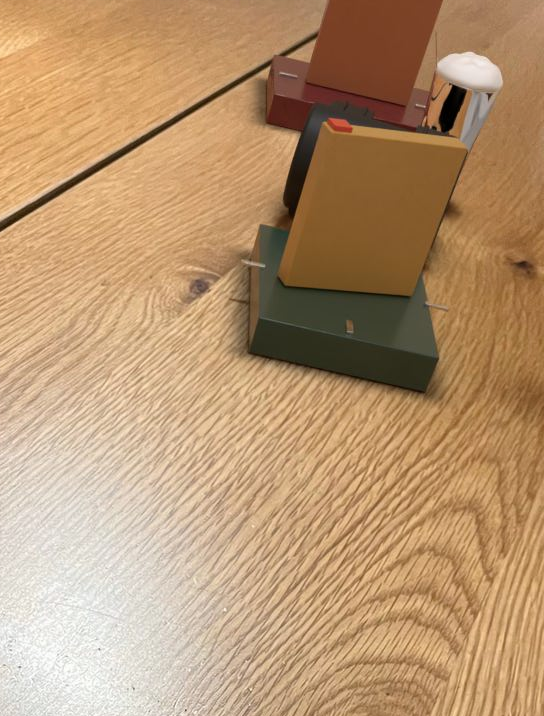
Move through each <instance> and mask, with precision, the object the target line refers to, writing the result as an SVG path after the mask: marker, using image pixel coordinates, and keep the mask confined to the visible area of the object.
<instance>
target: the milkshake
mask: <svg viewBox="0 0 544 716" xmlns="http://www.w3.org/2000/svg"><path fill="white" fill-rule="evenodd" d="M503 86H504V80H503V75H502V73H501V70H500V68H499V66H497V64H495V63H493V62H492V61H491V60H490V59H489V58H488V57H486V56H484V55H478V54H476V53H475V52H473V51H465V52H462V53H451V54H448V55H446V56H445V57H443V58H441V59H440V60H438V32H437V30H435V69H434V72H433V76H432V80H431V85H430V88H429V91H430V92H429V96H428V99H427V103H426V107H425V111H424V115H423V119H422V122H421V126H423V127H425V126H426V125H429V127H430V129H433V130H436V131H440V132H443V133H445V132H446V131H448V132H449V135H453V136H456V137H457V138H458V139H459V140H460V141H461V142H462V143H463V144H464V145H465V146H466V147H467V148H468V154H467V157H466V160H465V162H464V165H463V168H462V171H461V173H460V175H461V174H462V172H463V170H464V167H465V165H466V163H467V161H468V159H469V157H470V154H471V152H472V150H473V148H474V145H475V143H476V141H477V139H478V137H479V135H480V133H481V131H482V129H483V127H484V125H485V123H486V122H487V119H488V117H489V115H490V113H491V111H492V109H493V107H494V105H495V102H496V100H497V98H498V97H499V94H500V92H501V90H502V88H503Z"/></svg>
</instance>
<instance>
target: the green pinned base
mask: <svg viewBox="0 0 544 716" xmlns="http://www.w3.org/2000/svg"><path fill="white" fill-rule="evenodd" d="M289 234H290V230H289V229H285V228H280V227H276V226H271V225H267V224H263V223H260V224H259V225H258V229H257V233H256V236H255V240H254V244H253V247H252V250H251V254H250V260H248V259H243V258H241V259H240V265H242V266H247V267H250V278H249V279H250V281H249V320H248V321H249V322H248V323H249V327H248V328H249V330H248V332H249V333H248V337H249V338H248V353H249V354H254V355H259V356H263V357H267V358H272V359H276V360H280V361H286V362H289V363H295V364H298V365H303V366H308V367H312V368H317V369H320V370H325V371H330V372H335V373H339V374H344V375H347V376H352V377H356V378H359V379H365V380H370V381H374V382H379V383H383V384H387V385H392V386H397V387H400V388H405V389H409V390H415V391H417V392H422V393H426V391H427V390H428V388H429V385H430V382H431V380H432V377H433V375H434V373H435V371H436V368H437V366H438V363H439V361H440V354H439V350H438V343H437V339H436V335H435V330H434V326H433V321H432V316H431V309H436V310H439V311H444V312H449V311H450V307H449V306H448V305H444V304H440V303H435V302H431V301H428V295H427V291H426V285H425V281H424V275H423V270H422V271H421V273H420V276H419V279H418V281H417V284H416V287H415V289H414V292H413V294H412V296H402V295H390V294H378V293H366V292H354V291H341V290H329V289H317V288H305V287H293V286H285V285H284V284H283V282H282V281H281V279H280V278H279V276H278V271H279V267H280V264H281V260H282V257H283V254H284V250H285V247H286V244H287V240H288V237H289ZM430 308H431V309H430Z"/></svg>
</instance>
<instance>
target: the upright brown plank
mask: <svg viewBox="0 0 544 716" xmlns="http://www.w3.org/2000/svg"><path fill="white" fill-rule="evenodd" d="M443 2H444V0H327V1H326V4H325V8H324V11H323V14H322V19H321V22H320V25H319V28H318V33H317V36H316V40H315V43H314V46H313V51H312V53H311V57H310V61H309V63H310V64H309V68H308V71H307V75H306V82H307V83H310V84H315V85H319V86H323V87H327V88H331V89H336V90H340V91H344V92H348V93H353V94H357V95H361V96H365V97H369V98H374V99H378V100H382V101H386V102H390V103H395V104H399V105H403V106H407V105H408V102H409V99H410V96H411V93H412V90H413V87H414V88H415V85H416V82H417V78H418V75H419V73H420V70H421V68H422V63H423V62H424V58H425V55H426V52H427V50H428V46H429V43H430V40H431V37H432V34H433V31H434V29H435V25H436V22H437V20H438V17H439V14H440V11H441V8H442V5H443Z"/></svg>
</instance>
